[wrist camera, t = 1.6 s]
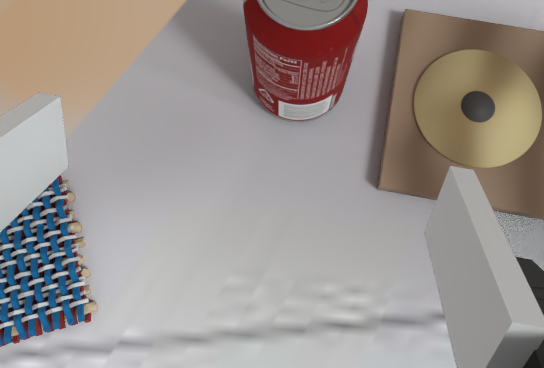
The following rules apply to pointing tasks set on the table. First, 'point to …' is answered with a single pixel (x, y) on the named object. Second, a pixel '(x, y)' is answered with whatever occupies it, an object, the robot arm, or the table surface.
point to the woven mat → (42, 269)
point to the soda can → (301, 53)
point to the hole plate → (467, 110)
